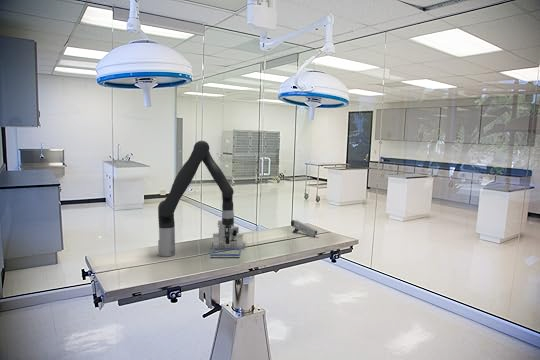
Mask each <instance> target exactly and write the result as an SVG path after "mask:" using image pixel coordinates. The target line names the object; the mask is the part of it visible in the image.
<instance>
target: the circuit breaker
mask: <svg viewBox="0 0 540 360" xmlns="http://www.w3.org/2000/svg"><path fill="white" fill-rule="evenodd" d="M225 227H226V225H223V224H222V219H221V220H217V228H218V233H220V236H219V242H220V241H222V242H223V241H225ZM237 233H240V232H239V226H236V225H235V223H234V224H233V225H231V242H232V241H234V240H235V239H237Z"/></svg>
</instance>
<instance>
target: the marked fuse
mask: <svg viewBox="0 0 540 360" xmlns="http://www.w3.org/2000/svg"><path fill="white" fill-rule="evenodd" d="M226 236H228V235H226ZM229 237H230V238H229V244H226V238H225V248H231V242H232V241H231V233H230V235H229Z"/></svg>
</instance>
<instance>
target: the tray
mask: <svg viewBox="0 0 540 360" xmlns="http://www.w3.org/2000/svg"><path fill="white" fill-rule="evenodd" d="M241 250H242V249H241V248H213V249H211V252H210V259H240V256H241ZM215 251H238V252H237V253H214V252H215Z"/></svg>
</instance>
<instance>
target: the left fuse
mask: <svg viewBox="0 0 540 360" xmlns="http://www.w3.org/2000/svg"><path fill="white" fill-rule="evenodd" d="M219 236H220V233H219V232H213V233H212V238H213V239H212V241H213V248H219V247H220V240H219Z"/></svg>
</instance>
